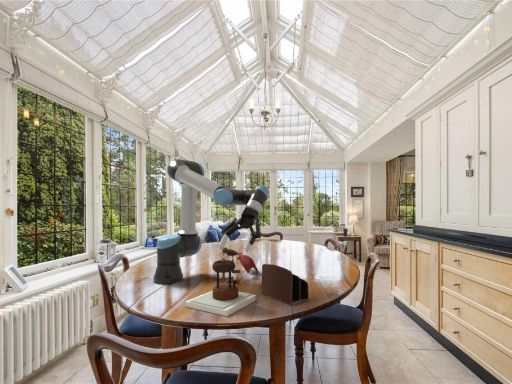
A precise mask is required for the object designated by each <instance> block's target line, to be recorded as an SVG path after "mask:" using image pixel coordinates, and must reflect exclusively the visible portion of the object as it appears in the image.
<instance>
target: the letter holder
mask: <svg viewBox="0 0 512 384" xmlns="http://www.w3.org/2000/svg"><path fill="white" fill-rule="evenodd" d="M260 289H261V290H260V293H261V295H264V296H267V297H269V298H271V299H274V300H276V301H279V302H282V303H284V304H285V305H288V306H289V305H290V306H295V305H297V304H298V305H299V304H302V303H305V302H308V301H309V298H310V297H309V294H310V293H309V292H310V291H309V282H307V280H305V279H304V278H301V277H299V276H298V275H296V274H293V272H292V270H290V269H287V268H285V267H283V266H279V265H277V264H270V263H263V264H262V265H261V286H260Z"/></svg>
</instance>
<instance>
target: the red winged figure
mask: <svg viewBox="0 0 512 384" xmlns="http://www.w3.org/2000/svg"><path fill="white" fill-rule="evenodd" d="M237 259H238V260H239V263H240V264H241V266H242V267H243V268H244V270H241V273H243V274H245V273H247V274H249V273H251V270H252V269H253V270H255V272H257V274H258V273H259V272H260V271H259V270H258V267H257V265H256V263H255V261H254V259H253V258H252V257H251V256H249V255H246V254H242V255H241V254H238V255H237V257H236V260H237Z"/></svg>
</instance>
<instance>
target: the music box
mask: <svg viewBox="0 0 512 384" xmlns="http://www.w3.org/2000/svg"><path fill="white" fill-rule="evenodd" d="M221 251H222V255H221V256H222V258H221V259H220V260H216V261H214V262H213V263H212V264H211V265H212V267H211V268H212V270H213V271H214V272H215V273H216V278H214V276H210V277H205V280H211V282H213V281H215V282H216V286H214V287H213V288H212V291H213V299H215V300H220V301H228V300H234V299H236V298H238V292H239V287H238V286H237V285H240V280H241V279H239V275H238V274H241V270H240V269H238V266H239V265H238V264H239V263H238V259H237V258H236V260H237V261H236V263H237V264H236V263H235V259H234V257H235V256H236V257H237V256H238V254H239V255H243V253H242V252H238V251H236V250H234V249H232V248H227V247H225V246H224V247H223V249H221ZM224 255H227V256H229V257H231V258H232V259H230V260H228V259H226V257H223V256H224ZM226 273H228V277H226ZM220 274H222V277H221V278H220ZM232 274H237V275H236V279H234V276H233V275H232ZM226 280H227V282H226ZM220 281H221V282H223V283H224V284H220ZM225 282H226V283H227V284H225Z"/></svg>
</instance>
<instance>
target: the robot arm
mask: <svg viewBox="0 0 512 384" xmlns="http://www.w3.org/2000/svg"><path fill="white" fill-rule="evenodd" d="M166 172H167V175H168V176H169V178H170V179H171V180H173V181H174V182H176V183H178V185H179V186H180V187H181V196H180V200H181V201H180V220H179V222H180V223H179V230H178V231H177V232H176V233H175V234H166V235H162V236H160V237H158V239H157V241H156V243H157V244H156V267H155V268H156V269H155V272H154V275H153V277H152V278H153V283H154V284H159V285H160V284H161V285H162V284H163V285H164V284H165V285H168V284H175V283H179V282H182V281H183V280H184V273H183V271H182V268H181V258H186V257H191V256H195V255H196V254H198V253H199V252H200V250H201V248H202V245H203V241H202V239H201V236H199V231H197V228H196V223H197V199H198V198H197V197H198V196H197V195H198V192H200V193H202V194H203V195H205V196H207V197H210V198H211V199H213V200H214V202H215V203H216V204H217V205H220V206H245V207H244V209H243V211H242V213H241V216H240V218H237V217H234V218H233V220H232V221H230V222H229V224H228V225H227V226H225V227H224V228H223V229H221V231H220V233H221V235H222V236H221V238H220V242H219V244H218V245H217V246H218V248H219V249H220V250H222V249H223V248H224V247H225V245H226V243H227V241H228V240H229V236H231V235H232V234H234V233H235V232H238V231H239V230H241V229H247V230H248V229H249V231H250V234H251V235H249V237H248V239H247V241H246V243H245V245H244V248H243V249H244V250H245V252H246V253H249V251H250V249H251V248H252V246H254V243H255V241H256V240H257V239H259V240H260V239H261V238H262V233H261V231H262V230H261V224H262V222H261V219H260V218H259V215H260V214H261V212H262V210H263V207H264V206H265V204H266V202H267V200H268V198H269V195H270V190H269V189H268V187H267V186H265V185H261V184H259V185H257V186H256V187H255V188H254V189H244V190H243V189H233V188H227V187H226V186H224V185H221V184H219V183H217V182H216V181H214V180H212V179H209V178H207V177H205V168H204V167H203V166H202V164H201V163H199V162H197V161H192V160H185V159H179V158H176V159H173V160H172V161H170V162H169V163H168V165H167V169H166ZM254 225H255V231H254V227H253V226H254Z"/></svg>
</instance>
